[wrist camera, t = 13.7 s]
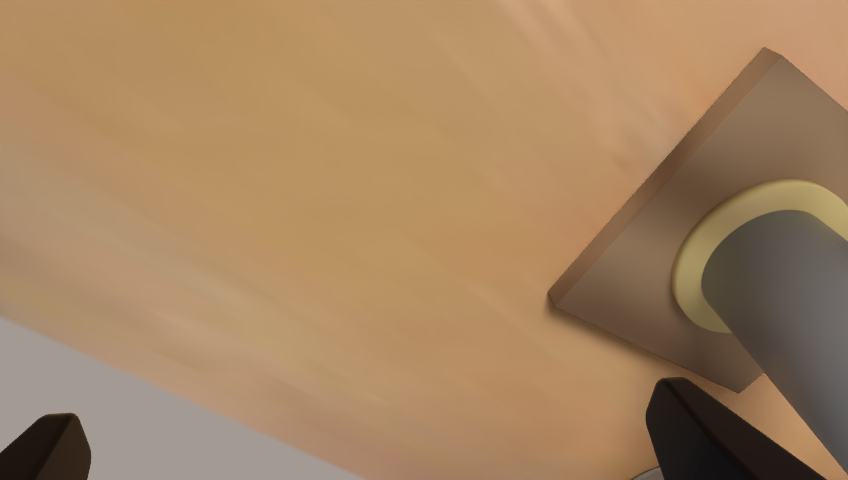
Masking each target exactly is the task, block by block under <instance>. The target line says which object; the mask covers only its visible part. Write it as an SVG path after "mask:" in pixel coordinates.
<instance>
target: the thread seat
mask: <svg viewBox="0 0 848 480" xmlns="http://www.w3.org/2000/svg"><path fill="white" fill-rule="evenodd" d="M779 210H800V211H805V212H808V213H811V214H812V215H814V216H816V217H817V218H819V219H820V220H821V221H822V222H824V223H825V224H826V225H828V226H829V227H830V228H831V229H833V230H834V231H835V232H837V233H838V234H839V235H841V236H842V237H843V238H844V239H846V240H847V241H848V111H847V110H845V109H844V108H843V107H842V106H841V105H840V104H838V103H837V102H836V101H835V100H834V99H832V98H831V97H830V96H829V95H828V94H827V93H825V92H824V91H823V90H822V89H821V88H820V87H818V86H817V85H816V84H815V83H814V82H813V81H811V80H810V79H809V78H808V77H807V76H806V75H804V74H803V73H802V72H801V71H800V70H799V69H797V68H796V67H795V66H794V65H793V64H792V63H790V62H789V61H788V60H787V59H786V58H785V57H783V56H782V55H780V54H778V53H776V52H774V51H772V50H770V49H767V48H765V47H764V48H763V49H762V50H761V51H760V53H759V54H758V55H757V56H756V57H755V58H754V59H753V61H752V62H751V63H750V64H749V65H748V66H747V67H746V68H745V70H744V71H743V72H742V73H741V74H740V75H739V76H738V77H737V79H736V80H735V81H734V82H733V83H732V84H731V85H730V87H729V88H728V89H727V90H726V91H725V92H724V93H723V94H722V96H721V97H720V98H719V99H718V100H717V101H716V102H715V103H714V105H713V106H712V107H711V108H710V109H709V110H708V111H707V113H706V114H705V115H704V116H703V117H702V118H701V119H700V120H699V122H698V123H697V124H696V125H695V126H694V127H693V128H692V129H691V131H690V132H689V133H688V134H687V135H686V136H685V137H684V138H683V140H682V141H681V142H680V143H679V144H678V145H677V146H676V148H675V149H674V150H673V151H672V152H671V153H670V154H669V155H668V157H667V158H666V159H665V160H664V161H663V162H662V163H661V164H660V166H659V167H658V168H657V169H656V170H655V171H654V172H653V174H652V175H651V176H650V177H649V178H648V179H647V180H646V181H645V183H644V184H643V185H642V186H641V187H640V188H639V189H638V190H637V192H636V193H635V194H634V195H633V196H632V197H631V198H630V200H629V201H628V202H627V203H626V204H625V205H624V206H623V207H622V209H621V210H620V211H619V212H618V213H617V214H616V215H615V216H614V218H613V219H612V220H611V221H610V222H609V223H608V224H607V225H606V227H605V228H604V229H603V230H602V231H601V232H600V233H599V235H598V236H597V237H596V238H595V239H594V240H593V241H592V242H591V244H590V245H589V246H588V247H587V248H586V249H585V250H584V251H583V253H582V254H581V255H580V256H579V257H578V258H577V259H576V261H575V262H574V263H573V264H572V265H571V266H570V267H569V268H568V270H567V271H566V272H565V273H564V274H563V275H562V276H561V277H560V279H559V280H558V281H557V282H556V283H555V284H554V285H553V287H552V288H551V289H550V290H549V291H548V293H549V295H550V298H551V300H552V302H553V304H554V306H555V307H556V308H558V309H561V310H563V311H565V312H567V313H569V314H571V315H573V316H575V317H577V318H580V319H582V320H584V321H586V322H588V323H590V324H592V325H594V326H597V327H599V328H601V329H603V330H605V331H607V332H609V333H611V334H613V335H616V336H618V337H620V338H622V339H624V340H626V341H628V342H630V343H632V344H635V345H637V346H639V347H641V348H643V349H645V350H647V351H649V352H651V353H654V354H656V355H658V356H660V357H662V358H664V359H666V360H668V361H671V362H673V363H675V364H677V365H679V366H681V367H683V368H685V369H687V370H690V371H692V372H694V373H696V374H698V375H700V376H702V377H704V378H706V379H709V380H711V381H713V382H715V383H717V384H719V385H721V386H723V387H726V388H728V389H730V390H732V391H734V392H736V393H738V394H739V393H740V392H741V391H743V390H744V389H745V388H746V387H747V386H749V385H750V384H751V383H752V382H753V381H754V380H756V379H757V378H758V377H759V376H760V375H762V374H763V373H764V371H763V370H762V369H761V368H760V366H759V365H758V364H757V363H756V362H755V360H754V359H753V358H752V357H751V355H750V354H749V353H748V352H747V350H746V349H745V348H744V347H743V346H742V344H741V343H740V342H739V341H738V339H737V338H736V337H735V336H734V335H733V333H732V332H731V331H730V330H729V328H728V327H727V326H726V325H725V323H724V322H723V321H722V320H721V319H720V317H719V316H718V315H717V314H716V312H715V311H714V310H713V309H712V308H711V306H710V305H709V304H708V302H707V301H706V300H705V298H704V295H703V293H702V288H701V280H702V274H703V271H704V267H705V265H706V263H707V261H708V259H709V257H710V256H711V254H712V253H713V251H714V250H715V248H716V247H717V246H718V245H719V244H720V243H721V242H722V240H723V239H725V238H726V237H727V236H728V235H729V234H730V233H731V232H733V231H734V230H735V229H737V228H738V227H740V226H741V225H743V224H744V223H746V222H748V221H750V220H752V219H754V218H756V217H758V216H761V215H764V214H767V213H770V212H774V211H779Z"/></svg>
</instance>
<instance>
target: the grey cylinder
mask: <svg viewBox="0 0 848 480" xmlns="http://www.w3.org/2000/svg"><path fill="white" fill-rule="evenodd" d="M701 288H702V293H703V295H704V298H705V300H706V301H707V302H708V304H709V305H710V306H711V308H712V309H713V310H714V311H715V312H716V314H717V315H718V316H719V317H720V319H721V320H722V321H723V322H724V323H725V325H726V326H727V327H728V328H729V330H730V331H731V332H732V333H733V335H734V336H735V337H736V338H737V339H738V341H739V342H740V343H741V344H742V346H743V347H744V348H745V349H746V350H747V352H748V353H749V354H750V355H751V357H752V358H753V359H754V360H755V362H756V363H757V364H758V365H759V366H760V368H761V369H762V370H763V371H764V373H765V374H766V375H767V376H768V377H769V379H770V380H771V381H772V382H773V384H774V385H775V386H776V387H777V389H778V390H779V391H780V392H781V393H782V395H783V396H784V397H785V398H786V400H787V401H788V402H789V403H790V404H791V406H792V407H793V408H794V409H795V411H796V412H797V413H798V414H799V416H800V417H801V418H802V419H803V420H804V422H805V423H806V424H807V425H808V427H809V428H810V429H811V430H812V431H813V433H814V434H815V435H816V436H817V438H818V439H819V440H820V441H821V443H822V444H823V445H824V446H825V447H826V449H827V450H828V451H829V452H830V454H831V455H832V456H833V457H834V458H835V460H836V461H837V462H838V463H839V465H840V466H841V467H842V468H843V470H844V471H845V472H846V473H847V474H848V241H847V240H846V239H844V238H843V237H842V236H841V235H839V234H838V233H837V232H835V231H834V230H833V229H831V228H830V227H829V226H828V225H826V224H825V223H824V222H822V221H821V220H820V219H819V218H817V217H816V216H814V215H812V214H811V213H808V212H805V211H800V210H779V211H774V212H770V213H767V214H764V215H761V216H758V217H756V218H754V219H752V220H750V221H748V222H746V223H744V224H743V225H741V226H740V227H738V228H737V229H735V230H734V231H733V232H731V233H730V234H729V235H728V236H727V237H726V238H725V239H723V240H722V242H721V243H720V244H719V245H718V246H717V247H716V248H715V250H714V251H713V253H712V254H711V256H710V257H709V259H708V261H707V263H706V265H705V267H704V271H703V274H702V280H701Z"/></svg>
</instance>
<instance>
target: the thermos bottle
mask: <svg viewBox="0 0 848 480" xmlns="http://www.w3.org/2000/svg"><path fill="white" fill-rule="evenodd" d="M632 480H664V478H663V475H662V472H661V469H660V467H657V468H654V469H652V470H650V471H647V472H645V473H643V474H641V475H640V476H638V477H636V478H634V479H632Z"/></svg>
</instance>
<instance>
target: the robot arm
mask: <svg viewBox="0 0 848 480" xmlns="http://www.w3.org/2000/svg"><path fill="white" fill-rule="evenodd" d="M646 425H647V429H648V432H649V435H650V438H651V441H652V444H653V447H654V450H655V453H656V456H657V460H658V463H659V466H660V469H661V472H662V475H663V478H664V480H827V479H825V478H824V477H823V476H821V475H820V474H818V473H817V472H816V471H814V470H813V469H812V468H810V467H809V466H807V465H806V464H805V463H803V462H802V461H800V460H799V459H798V458H796V457H795V456H793V455H792V454H791V453H789V452H788V451H787V450H785V449H784V448H782V447H781V446H780V445H778V444H777V443H775V442H774V441H773V440H771V439H770V438H769V437H767V436H766V435H764V434H763V433H762V432H760V431H759V430H757V429H756V428H755V427H753V426H752V425H750V424H749V423H748V422H746V421H745V420H744V419H742V418H741V417H739V416H738V415H737V414H735V413H734V412H732V411H731V410H730V409H728V408H727V407H726V406H724V405H723V404H721V403H720V402H719V401H717V400H716V399H714V398H713V397H712V396H710V395H709V394H707V393H706V392H705V391H703V390H702V389H701V388H699V387H698V386H696V385H695V384H694V383H692V382H691V381H689V380H688V379H686V378H683V377H673V378H662V379H660V380H659V381H658V382H657V383H656V386H655V388H654V391H653V394H652V397H651V399H650V402H649V405H648V407H647V410H646ZM90 464H91V450H90V446H89V444H88V441H87V438H86V436H85V433H84V430H83V428H82V425H81V423H80V420H79V418H78V416H76V415H75V414H73V413H60V414H48V415H45V416H43V417H41V418H39V419H38V420H37V421H36V422H35V423H34V424H32V426H30V427H29V428H28V429H27V430H26V431H25V432H23V433H22V434H21V435H20V436H19V437H18V438H17V439H15V440H14V441H13V442H12V443H11V444H10V445H9V446H8V447H7V448H5V449H4V450H3V451H2V452H1V453H0V480H87V478H88V474H89V469H90Z"/></svg>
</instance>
